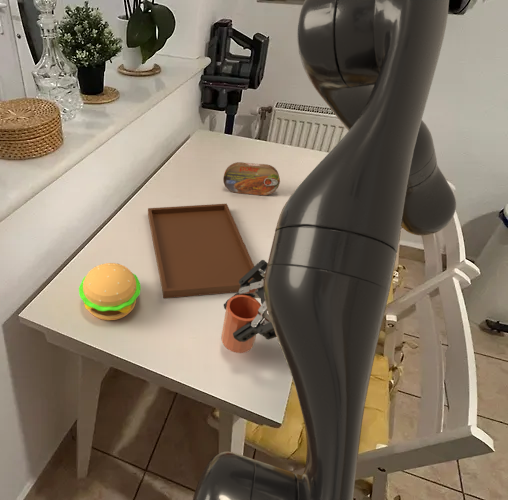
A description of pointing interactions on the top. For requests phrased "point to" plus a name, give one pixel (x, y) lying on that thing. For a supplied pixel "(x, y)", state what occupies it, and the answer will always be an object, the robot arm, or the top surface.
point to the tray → (198, 250)
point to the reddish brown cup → (239, 321)
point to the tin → (251, 178)
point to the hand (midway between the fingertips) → (231, 323)
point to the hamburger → (109, 291)
